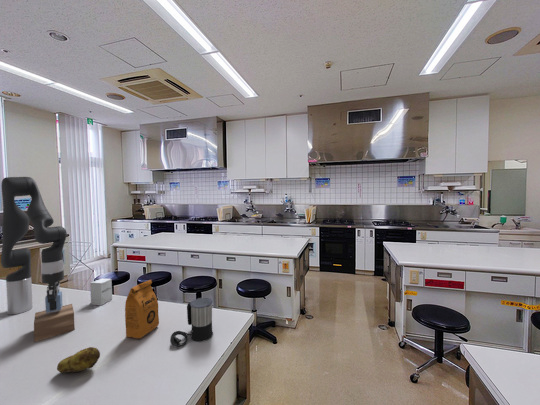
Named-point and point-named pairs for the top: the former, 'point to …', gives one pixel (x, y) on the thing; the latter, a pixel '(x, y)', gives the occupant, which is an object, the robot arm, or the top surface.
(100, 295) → the supplement box
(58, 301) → the slate block
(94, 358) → the potato
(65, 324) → the walnut box
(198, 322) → the milk frother
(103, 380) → the top surface
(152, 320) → the coffee package
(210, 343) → the top surface
